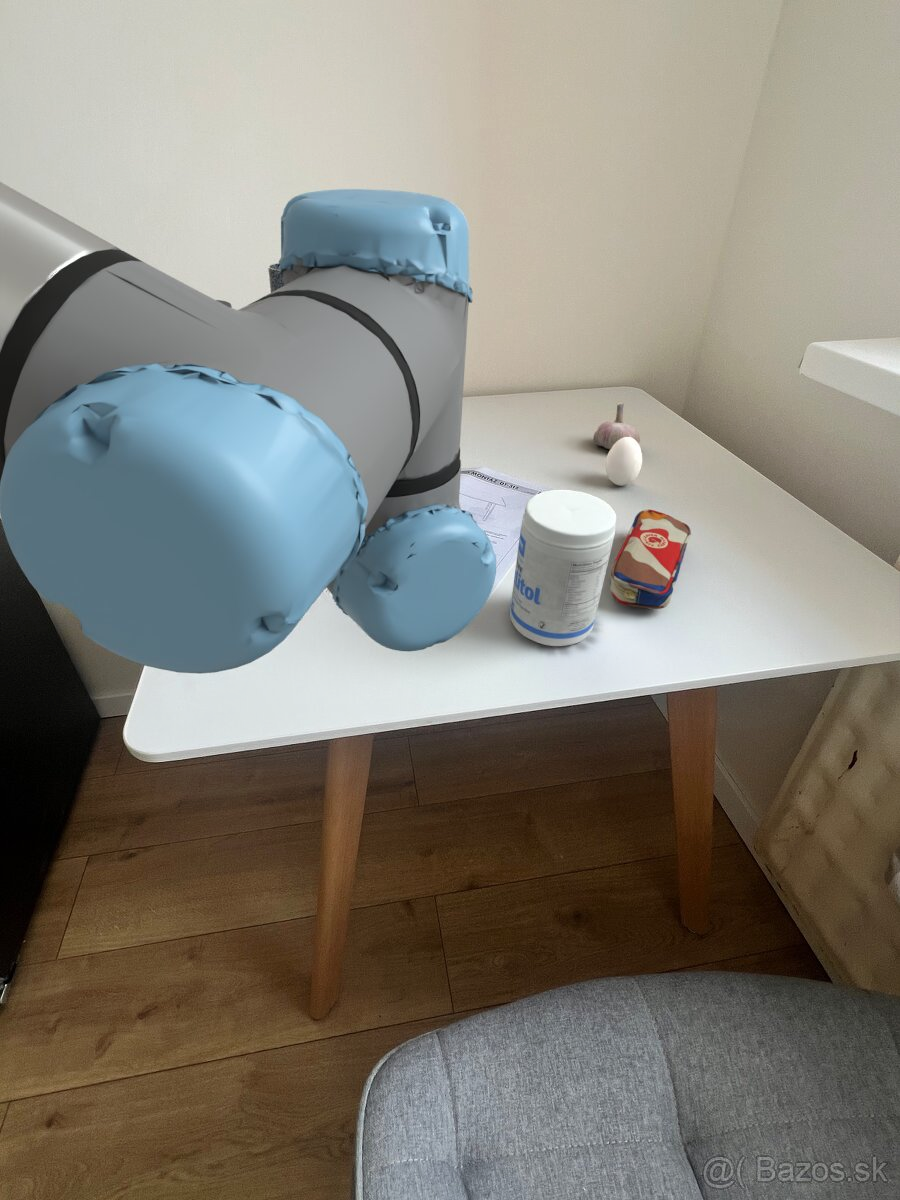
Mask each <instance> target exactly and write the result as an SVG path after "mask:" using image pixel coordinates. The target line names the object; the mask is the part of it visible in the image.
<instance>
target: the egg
mask: <svg viewBox="0 0 900 1200" xmlns="http://www.w3.org/2000/svg"><path fill="white" fill-rule="evenodd" d="M642 465H643V453H642V448H641V446H640V443H639V444H638V443H637V441H636V440H634V439H633V438H631V437H624V438H621V439H620V440H618V441H617V442H616V443H615V444H614V445H613V446H612V448H611V449H610V450H609V451H608V453H607V456H606V460H605V473H606V476H607V477H608V479H609V480H610V482H612V483H613V485H616V486H626V485H629V484H631V483H632V482H633V481H635V479H637V477H638V476H639V474H640V472H641V468H642Z"/></svg>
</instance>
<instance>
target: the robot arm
mask: <svg viewBox="0 0 900 1200" xmlns="http://www.w3.org/2000/svg"><path fill="white" fill-rule="evenodd" d="M278 263H279V264H280V266H279V270H280V271H279V273H280V276H283V280H284V285H285V286H283V287H281V288H279V289H277V290H275V291H273V292H272V293H270V292H269V293H268V294H266V295H263V296H262V297H261V298H258V299H257V300H255V301H253V302H251V303H249V304H247V305H245V306H242V308H239V309H236V308H233V307H232V308H230V307H228V306H226V305H224V304H222V303H220V302H218V301H216V300H217V299H215V298H212V297H211V296H209V295H207V294H205V293H203V292H201V291H199V290H197V289H196V288H195V287H194V288H193V287H192V286H190V285H188V284H186V283H184V282H182V281H180V280H178V279H177V278H175V277H173V276H171V275H169V274H167V273H166V272H163V271H161V270H160V269H158V268H156V267H154V266H152V265H150V264H148V263H146V262H145V261H143V260H141V259H139V258H138V257H136V256H133V255H132V254H130V253H128V252H126V251H124V250H122V249H121V248H119V247H118V246H116V245H114V244H112V243H111V242H109V241H107V240H105V239H103V238H102V237H100V236H98V235H96V234H94V233H93V232H91V231H89V230H87V229H86V228H84V227H82V226H80V225H78V224H77V223H75V222H73V221H71V220H70V219H68V218H66V217H64V216H62V215H60V214H59V213H57V212H55V211H53V210H52V209H50V208H49V207H46V206H44V205H43V204H41V203H39V202H38V201H35V200H34V199H32V198H30V197H28V196H26V195H25V194H24V193H21V192H20V191H18V190H16V189H14V188H12V187H10V186H8V185H7V184H5V183H3V182H2V181H0V519H1V525H2V528H3V531H4V534H5V537H6V540H7V543H8V545H9V547H10V550H11V553H12V555H13V556H14V558H15V561H16V562H17V563H18V566H19V567H20V568H21V571H22V573H23V574H24V575H25V577H26V578H27V581H29V584H30V585H31V586H32V587H33V588H34V589H35V591H36V592H37V593H38V594H39V596H40V597H41V598H42V599H43V600H45V601H46V602H49V603H51V604H56V605H61V606H62V607H65V608H67V609H69V610H70V611H71V612H72V614H73V615H75V617H76V618H77V619H78V621H79V622H80V630H81V633H82V634H83V635H84V636H85V637H87V638H88V639H89V640H91V641H92V642H94V643H95V644H97V645H99V646H101V647H102V648H104V649H106V650H107V651H109V652H110V653H113V654H115V655H117V656H120V657H122V658H124V659H125V660H128V661H130V662H134V663H137V664H140V665H141V666H144V667H150V668H154V669H158V670H162V671H169V672H173V673H179V674H181V673H182V674H214V673H219V672H220V673H221V672H224V671H228V670H233V669H237V668H240V667H243V666H246V665H249V664H251V663H253V662H255V661H256V660H259V659H260V658H262V657H264V656H266V655H267V654H269V653H271V652H272V651H273V650H274V649H275V648H277V647H278V646H279V645H280V644H281V643H283V642H284V641H285V640H286V639H287V638H288V636H289V635H290V634H292V632H293V631H294V630H295V628H296V627H297V625H298V624H299V623H300V621H302V619H303V618H304V616H305V615H306V613H307V612H309V610H310V609H311V607H312V606H313V605H314V603H315V602H316V601H317V600H318V598H319V597H320V596H321V594H322V593H323V592H324V591H325V589H327V590H328V591H329V593H330V594H331V596H332V600H333V602H334V603H335V605H336V606H337V607H338V608H339V609H340V610H341V611H342V613H343V614H344V615H346V616H347V617H349V618H350V619H351V621H353V622H354V623H355V624H356V625H357V626H358V627H359V628H360V629H361V630H362V631H363V633H365V634H366V636H368V637H369V638H370V639H371V640H373V641H374V642H375V643H377V644H379V645H380V646H382V647H384V648H387V649H389V650H392V651H397V652H417V651H423V650H426V649H427V648H431V647H433V646H435V645H437V644H438V645H439V644H442V643H445V642H447V641H449V640H451V639H452V638H454V637H455V636H457V635H458V634H460V633H461V632H462V631H463V630H464V629H466V628H467V627H468V626H469V625H470V624H471V623H472V622H473V621H474V619H475V618H476V617H477V616H478V615H479V613H480V612H481V611H482V609H483V608H484V607H485V605H486V603H487V601H488V600H489V597H490V595H491V592H492V590H493V588H494V584H495V580H496V575H497V555H496V554H495V552H494V547H493V544H492V542H491V539H490V538H489V537H488V535H487V533H486V532H485V531H484V529H482V528H481V527H480V525H479V524H478V522H477V521H476V519H474V517H473V514H472V513H471V512H469V511H466V510H465V509H462V508H461V505H460V491H461V490H460V489H461V488H460V487H461V472H462V460H461V433H462V417H463V403H464V402H463V399H464V386H465V385H464V383H465V368H466V354H467V338H468V337H467V336H468V320H469V319H468V318H469V304H471V303H473V289H472V288H471V285H470V230H469V223H468V220H467V218H466V216H465V214H464V212H463V211H462V209H461V208H459V207H458V206H457V204H455V203H454V202H453V201H450V200H448V199H446V198H443V197H440V196H437V195H432V194H426V193H420V192H413V191H412V192H411V191H404V190H392V189H391V190H390V189H372V188H371V189H368V188H367V189H365V188H340V189H323V190H315V191H308V192H303V193H300V194H298V195H295V196H294V197H292V198H290V200H288V201H287V203H286V204H285V206H284V208H283V211H282V215H281V217H280V258H279V260H278Z"/></svg>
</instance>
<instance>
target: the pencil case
mask: <svg viewBox="0 0 900 1200" xmlns="http://www.w3.org/2000/svg"><path fill="white" fill-rule="evenodd" d="M634 517H635V518H634V520H633V522H632V524H631V526H630V529H629V531H628V534H627V536H626V538H625V540H624V543H623V545H622V546H621V548H620V550H619V552H618V554H617V556H616V558H615V560H614V562H613V565H612V568H611V571H610V576H611V583H610V587H609V590H610V591H609V592H610V593H611V595H612V597H613V598H614V599H615V600H616V602H618V603H619V604H621V605H624V606H630V607H637V608H644V609H651V610H660V609H665V608H666V607H668V606H669V605H670V603H671V600H672V597H673V592H674V590H675V587H676V584H677V580H678V576H679V573H680V571H681V566H682V562H683V561H684V556H685V552H686V550H687V546H688V541H689V539H690V538H691V535H692V531H691V527H690V526H689V525H688V524H687V523H685V522H683V521H681V520H678V519H677V518H675V517H672V516H671V515H669V514H667V513H664V512H661V511H657V510H655V509H648V508H647V509H643V510H640V511H638V513H637V514H636V515H635V516H634Z"/></svg>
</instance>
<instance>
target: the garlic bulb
mask: <svg viewBox="0 0 900 1200" xmlns="http://www.w3.org/2000/svg"><path fill="white" fill-rule="evenodd" d="M615 416H616V417H615V420H611V421H604V422H602V423H601V424H600V425H599V426H597V429H596V431H595V432H594V434H593V436H592V437H593V443H594V444H595V445H596V446H598V447H603V448H605V449H607V450H609V451H610V450H611V448H612V446H613V445H614V444H615V443H616V442H617V441H618V440H620V439H621V438H624V437H631V438H633V439H634V440H636V441H637V443H638V444H639V445H640V441H641V437H640V434H639V433H638V431H637V429H636V428H635V427H634V426H633V425H629V424H628V423H626V422H624V402H623V401H620V402H618V403H617V405H616V415H615Z"/></svg>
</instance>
